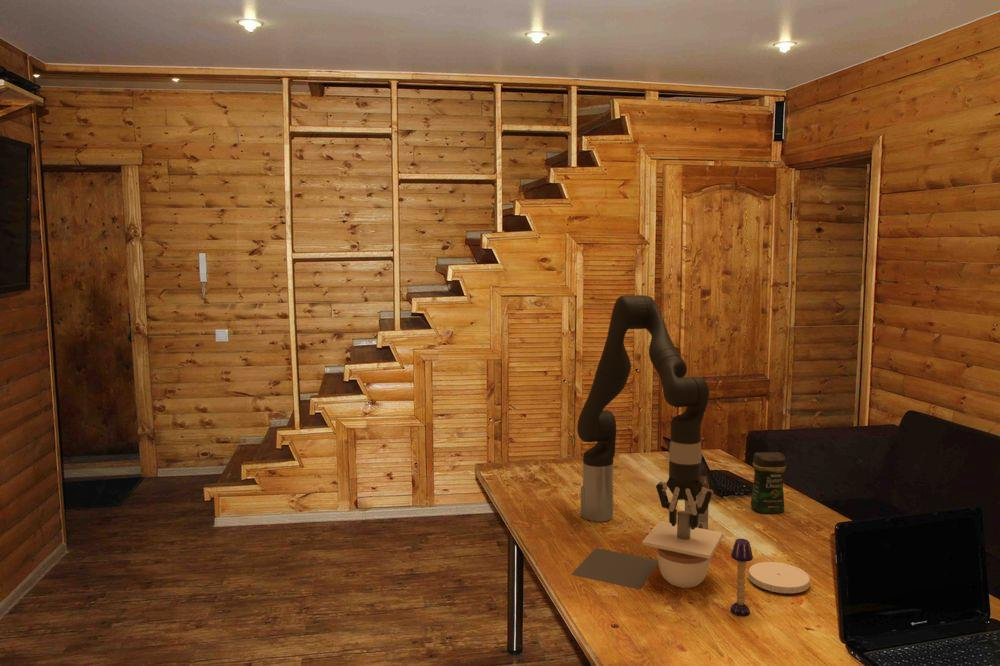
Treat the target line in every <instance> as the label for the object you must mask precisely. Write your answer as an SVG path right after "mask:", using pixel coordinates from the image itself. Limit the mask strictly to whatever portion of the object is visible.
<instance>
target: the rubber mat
mask: <svg viewBox="0 0 1000 666" xmlns="http://www.w3.org/2000/svg"><path fill="white" fill-rule="evenodd" d="M657 566H659V565H658V559H654V558H648V557H643V556H639V555H633V554H627V553H623V552H617V551H612V550H606V549H602V548H598V547H595V548H594V549H593V550H592V551H591V553H590V554H588V555H587V556H586V558H585V559H584V560H583V561H581V563H580V564H579V565H578V566H577V567H576V569H575V570H573V572H572V573H571V574H570V575H571V576H575V577H582V578H586V579H589V580H594V581H598V582H604V583H609V584H613V585H617V586H623V587H627V588H632V589H636V590H641V589H642V588H643V586H645V584H646V582H647V581H648V579H649V578H650V576H651V575H652V574H653V572H654V571H655V569H656V568H657Z"/></svg>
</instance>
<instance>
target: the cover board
mask: <svg viewBox="0 0 1000 666" xmlns="http://www.w3.org/2000/svg"><path fill="white" fill-rule="evenodd" d="M723 537H724V532H720V531H715V530H711V529H708V530H707V529H701V528H695V529H694V530H693V529H691V513H690V512H687V511H685V510H679V511H677V523H676V525H675V526H672V524H671V523H670V522H669V521H663V520H659V521H658V522H657V523H656V524H655V526H654V527H653V528H652V529H651V530H650V531H649V533H648V534H647V535H646V536H645V537H644V539H643V540H642V541H641V546H646V547H651V548H655V549H657V548H659V549H664V550H669V551H674V552H679V553H683V554H688V555H693V556H698V557H703V558H707V559H709V560H710V559H711V558H712V556H713V554H714V553H715V551H716V550H717V547H718V545H719V544H720V542H721V540H722V538H723Z"/></svg>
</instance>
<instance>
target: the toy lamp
mask: <svg viewBox="0 0 1000 666" xmlns="http://www.w3.org/2000/svg"><path fill="white" fill-rule="evenodd" d="M732 547H733V548H732V549H731V554H730V557H731V559H733V560H734V561H737V566H736V567H737V569H736V570H737V572H736V576H737V578H736V583H737V584H736V590H737V591H736V602H734V603H733V604H731V606H730V612H731V614H733V615H735V616H739V617H745V616H746V617H747V616H749V615H750V614H751V610H750V607H749V606H748V605H747V604H746V603H745V602H746V600H745V596H746V593H745V590H746V586H745V584H746V579H745V577H746V572H745V571H746V562H751V561H753V559H754V555H753V551H752V547H751V542H750V541H749V540H748V539H746V538H736V539H735V541H734V544H733V546H732Z"/></svg>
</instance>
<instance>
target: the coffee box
mask: <svg viewBox="0 0 1000 666" xmlns="http://www.w3.org/2000/svg"><path fill="white" fill-rule="evenodd" d="M701 483H702V485H703V487H705V488H707V489H710V484H709V479H708V475H701ZM697 500H698V507H701V506H702V504H703V501H704V497H703V493H702V492H701V491H700V493H699V494H698V495H697ZM709 505H710V504H709ZM709 505H708V508H707V510H706V511H705V513H704V514H699V518H698V526H697V527H696V528H701V529H707V530H709ZM684 511H687V512H690V513H691V515H692V510H691V507H690V505H689V501H686V500H684Z"/></svg>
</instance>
